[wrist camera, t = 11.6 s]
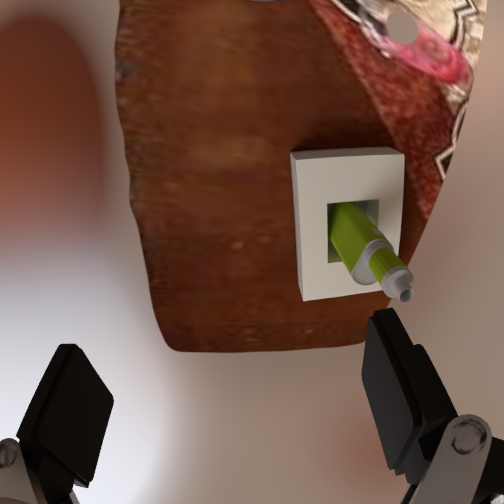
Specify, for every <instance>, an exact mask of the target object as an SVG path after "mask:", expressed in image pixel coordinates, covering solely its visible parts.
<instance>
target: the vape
mask: <svg viewBox="0 0 504 504" xmlns="http://www.w3.org/2000/svg"><path fill="white" fill-rule="evenodd" d="M327 233H328V236H329V238H330V240H331V242H332V243H333V245H334V247H335V249H336V250H337V252H338V254H339V256H340V257H341V259H342V261H343V263H344V264H345V266H346V268H347V270H348V272H349V273H350V275H351V277H352V279H353V280H354V281H355V282H356V283H357V284H360V285H364V286H367V285H372V284H374V283H376V282H377V281H378V282H379V284H380V285H381V287H382V289H383V291H384V292H385V294H386V295H387V296H388V297H390V298H397V297H398V298H399V300H400V301H401V302H407V301H409V300H410V299H412V297H413V296H414V290H413V288H412V285H413V280H414V279H413V275H412V273H411V272H410V270H409V269H408V268H407V267H406V266H405V265H404V264H403V262H402V261H401V260H400V259H399V257H398V256H397V255H396V254H395V252H394V248H393V246H392V244H391V243H390V242H389V241H388V240H387V238H386V237H385V236H384V234H383V233H382V232H381V231H380V230H378V228H377V227H376V226H375V225H374V224H373V223H372V222H371V221H370V220H369V218H368V217H367V216H366V215H365V214H364V213H363V212H362V211H361V210H360V209H359V208H358V206H357V205H356V204H355V203H354V202H353V201H350V202H338V203H334V204H333V206H332V208H331V210H330V212H329V214H328V216H327Z"/></svg>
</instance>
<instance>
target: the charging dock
mask: <svg viewBox="0 0 504 504" xmlns="http://www.w3.org/2000/svg"><path fill="white" fill-rule="evenodd" d="M290 163H291V176H292V189H293V203H294V217H295V234H296V251H297V270H298V283H299V287H300V290H301V294H302V298H303V301H307V300H315V299H323V298H330V297H338V296H345V295H352V294H359V293H366V292H372V291H379V290H383V289H382V287H381V285H380V284H379V282H378V281H377V282H376V283H374V284H372V285H367V286H364V285H360V284H357V283H356V282H355V281H354V280H353V279H352V277H351V275H350V273H349V272H348V270H347V268H346V266H345V264H344V263H343V261H342V259H341V257H340V256H339V254H338V252H337V250H336V249H335V247H334V245H333V243H332V242H331V240H330V238H329V236H328V233H327V216H328V214H329V212H330V210H331V208H332V206H333V204H334V203H338V202H350V201H353V202H354V203H355V204H356V205H357V206H358V208H359V209H360V210H361V211H362V212H363V213H364V214H365V215H366V216H367V217H368V218H369V220H370V221H371V222H372V223H373V224H374V225H375V226H376V227H377V228H378V230H380V231H381V232H382V233H383V234H384V236H385V237H386V238H387V240H388V241H389V242H390V243H391V244H392V246H393V248H394V252H395V254H396V255H397V256H398V251H399V242H400V231H401V219H402V205H403V187H404V154H403V153H401V152H398V151H396V150H394V149H392V148H390V147H356V148H336V149H320V150H306V151H294V152H290Z"/></svg>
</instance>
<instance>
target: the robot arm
mask: <svg viewBox="0 0 504 504" xmlns="http://www.w3.org/2000/svg"><path fill="white" fill-rule="evenodd" d="M252 1H261V2H265V1H276V0H252ZM362 381H363V385H364V388H365V391H366V394H367V397H368V401H369V404H370V407H371V410H372V414H373V417H374V420H375V423H376V426H377V430H378V434H379V437H380V441H381V444H382V447H383V451H384V454H385V458H386V462H387V465H388V468H389V469H390V470H392V469H395V473H396V476H397V475H401V474H404V473H405V476H406V480H407V483H409V486H408V488H407V490H406V492H405V494H404V496H403V497H402V499H401V501H400V503H399V504H504V440H501V439H498V438H495V437H492V434H491V429H490V427H489V426H488V424H487V422H485V421H484V420H483V419H482V418H480V417H478V416H476V415H470V414H467V415H461V416H458V414H457V412H456V410H455V408H454V406H453V404H452V402H451V399H450V397H449V395H448V393H447V391H446V389H445V387H444V385H443V383H442V381H441V379H440V377H439V375H438V373H437V371H436V369H435V367H434V365H433V363H432V362H431V360H430V358H429V356H428V354H427V353H426V351H425V349H424V347H423V346H422V345H420V344H416V345H413V343H412V341H411V339H410V338H409V336H408V334H407V332H406V330H405V328H404V326H403V324H402V323H401V321H400V319H399V317H398V315H397V314H396V312H395V310H394V309H393V308H387V309H382V310H377V311H374V313H373V316H371V317H368V323H367V332H366V342H365V350H364V358H363V366H362ZM113 404H114V399H113V396H112V394H111V393H110V391H109V390H108V388H107V387H106V386H105V384H104V383H103V381H102V380H101V378H100V377H99V375H98V374H97V372H96V371H95V369H94V368H93V366H92V365H91V363H90V361H89V360H88V358H87V357H86V355H85V353H84V352H83V350H82V349H81V348H79V347H78V346H77V345H76V344H60V345H59V346H58V348H57V350H56V352H55V354H54V356H53V357H52V359H51V361H50V363H49V365H48V367H47V369H46V371H45V373H44V375H43V377H42V379H41V381H40V383H39V385H38V387H37V389H36V392H35V394H34V396H33V398H32V400H31V402H30V404H29V407H28V409H27V411H26V413H25V416H24V418H23V420H22V422H21V425H20V427H19V429H18V432H17V434H16V437H17V438H19V439H20V441H19V443H18V442H17V441H16V440H14V439H12V438H7V439H3V440H2V441H0V504H79V501H78V500H77V497H76V495H75V493H74V491H73V489H72V488H73V484H75V485H76V486H80V487H85V488H88V486H89V483H90V482H91V481H92V480H93V477H94V473H95V470H96V465H97V461H98V457H99V453H100V450H101V446H102V443H103V439H104V435H105V432H106V428H107V425H108V421H109V417H110V414H111V410H112V407H113Z"/></svg>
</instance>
